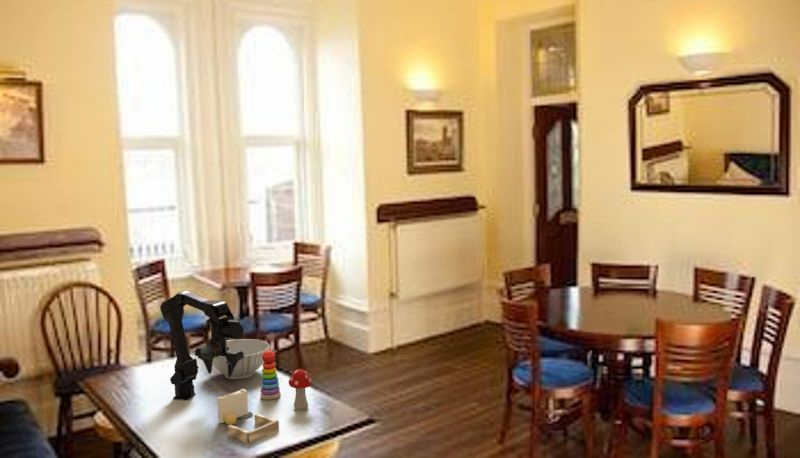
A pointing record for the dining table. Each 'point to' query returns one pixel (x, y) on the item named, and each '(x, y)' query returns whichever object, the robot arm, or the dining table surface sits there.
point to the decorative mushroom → (300, 388)
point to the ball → (230, 419)
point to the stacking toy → (269, 377)
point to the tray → (266, 429)
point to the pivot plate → (246, 415)
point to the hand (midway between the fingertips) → (219, 375)
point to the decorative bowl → (248, 363)
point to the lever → (232, 405)
